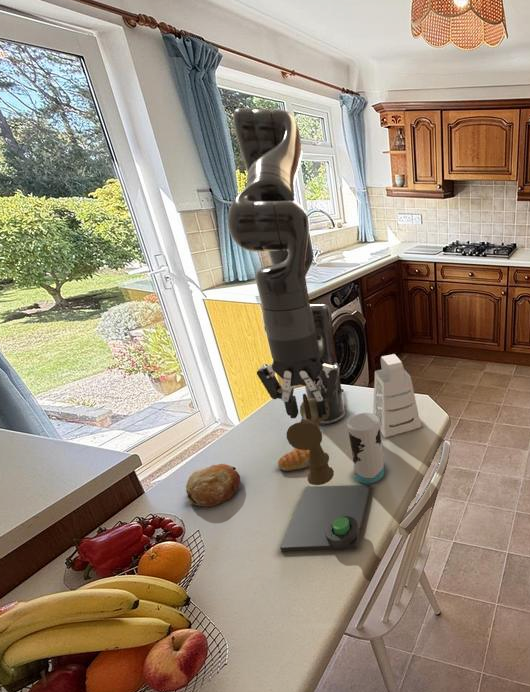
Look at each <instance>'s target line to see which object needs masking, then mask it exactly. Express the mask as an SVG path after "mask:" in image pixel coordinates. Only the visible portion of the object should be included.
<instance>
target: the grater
mask: <svg viewBox="0 0 530 692" xmlns="http://www.w3.org/2000/svg"><path fill="white" fill-rule="evenodd" d="M380 367H381V369H377V370H375V371H374V383H373V409H372V414H374V415H376V416H377V417H378V418H379V425H380V433H381V434H382V436H383V437H384V438H388V437H391V436H395V435H398V434H402V433H405V432H409V431H412V430H415V429H419V428H421V427H422V424H421V419H420V414H419V411H418V405H417V400H416V396H415V391H414V385H413V381H412V376H411V375H410V374H409V373H408V372H407V371H406V369H405V368H404V365H403V362H402V360H401V359H400V358H399V357H398V356H397V355H396V353H392V354H388V355H382V356H380ZM409 421H410V422H409ZM405 422H407V423H405ZM402 423H404V424H402ZM395 425H397V426H395ZM390 426H391V427H390ZM392 426H394V427H392Z"/></svg>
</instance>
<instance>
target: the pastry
mask: <svg viewBox="0 0 530 692" xmlns="http://www.w3.org/2000/svg"><path fill="white" fill-rule="evenodd" d="M308 457H309V450H299V449H296V448H293V449H292V450H291V451H289V452H287V453H285V454H284V455H283V456H281V457H280V458H279V459H278V463H277V466H278V469H280V470H282V471H287V472H289V471H294V470H301V469H305V468H308V467H307V465H306V460H307V459H308Z"/></svg>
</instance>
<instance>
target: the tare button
mask: <svg viewBox="0 0 530 692" xmlns="http://www.w3.org/2000/svg"><path fill="white" fill-rule="evenodd" d="M333 530H334V533H335V534H336V535H339V536H340V535H344V534H346V533H347V532H348V531H349V530H350V524H349V520H348V519H347V518H346V517H340V518H337V519H336V520H335V521H334V522H333Z"/></svg>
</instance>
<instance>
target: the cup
mask: <svg viewBox="0 0 530 692" xmlns="http://www.w3.org/2000/svg"><path fill="white" fill-rule="evenodd" d="M379 419H380V417H379V418H378V417H377V416H376V415H374V414H373V413H372V412H371V413H370V412H362V413H358V414H355V415H352V416H351V417H350V418H349V419H348V420H347V423H346V424H347V430H348V436H349V437H348V438H349V443H350V450H351V457H352V463H353V470H354V477H355V480H356V481H357V482H359V483H361V484H364V485H367V484H373V483H376V482H378V481H380V480H381V479H382V478H383V477H384V475H385V466H384V465H385V464H384V456H383V455H384V454H383V444H382V436H381V431H380V427H381V425H380V423H379Z"/></svg>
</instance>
